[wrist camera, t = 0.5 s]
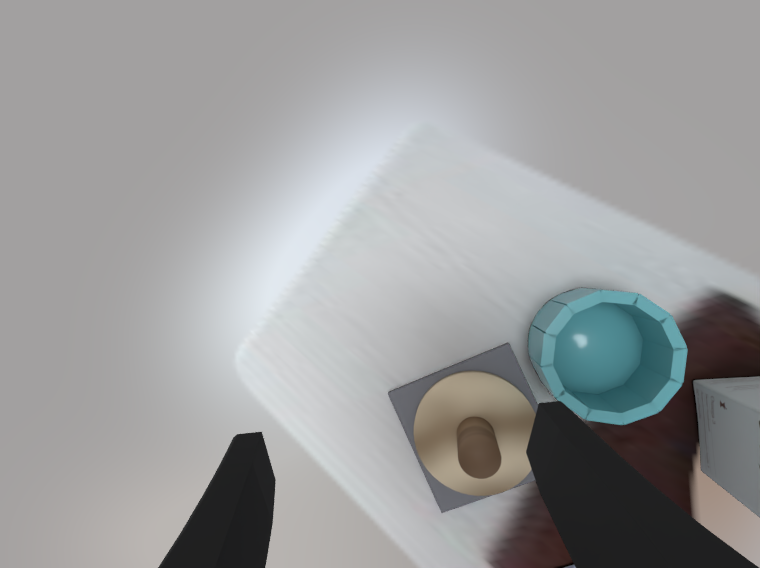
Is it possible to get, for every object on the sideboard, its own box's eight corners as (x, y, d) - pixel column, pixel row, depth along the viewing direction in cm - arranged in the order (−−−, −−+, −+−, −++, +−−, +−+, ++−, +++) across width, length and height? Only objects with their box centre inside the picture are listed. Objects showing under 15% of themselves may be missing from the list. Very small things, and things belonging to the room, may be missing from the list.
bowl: (668, 374, 31) (710, 394, 26) (556, 416, 32) (576, 442, 28) (617, 269, 31) (649, 269, 26) (509, 315, 33) (520, 323, 28)
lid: (558, 465, 32) (579, 500, 27) (444, 505, 34) (444, 545, 29) (505, 351, 32) (516, 366, 28) (395, 396, 34) (386, 418, 29)
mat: (565, 466, 32) (567, 469, 32) (441, 509, 34) (441, 513, 34) (508, 342, 33) (509, 343, 32) (388, 391, 35) (387, 393, 34)
